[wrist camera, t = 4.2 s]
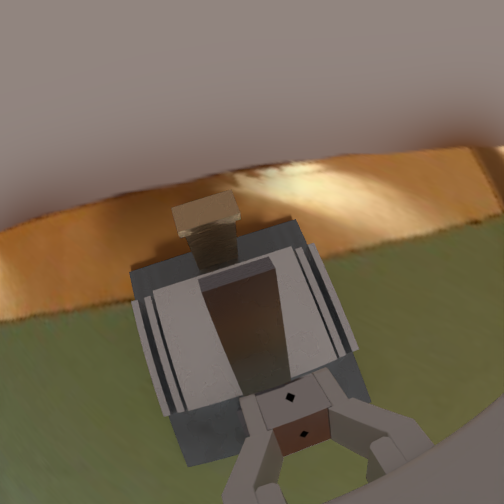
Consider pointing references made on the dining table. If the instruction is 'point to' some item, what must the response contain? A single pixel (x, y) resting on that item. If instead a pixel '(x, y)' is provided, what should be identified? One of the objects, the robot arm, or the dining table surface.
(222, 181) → the dining table surface
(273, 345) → the retention strap
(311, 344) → the grey boxy piece
